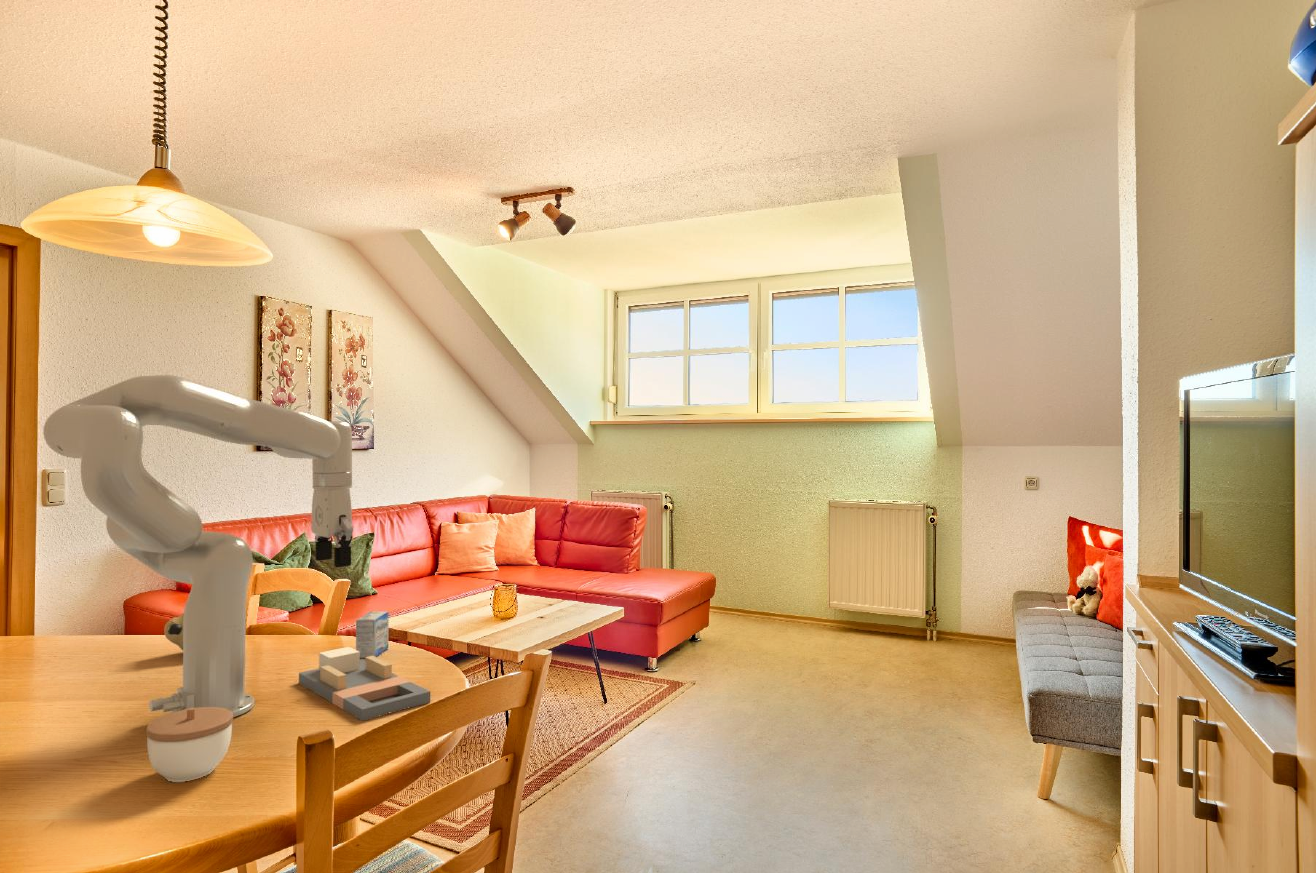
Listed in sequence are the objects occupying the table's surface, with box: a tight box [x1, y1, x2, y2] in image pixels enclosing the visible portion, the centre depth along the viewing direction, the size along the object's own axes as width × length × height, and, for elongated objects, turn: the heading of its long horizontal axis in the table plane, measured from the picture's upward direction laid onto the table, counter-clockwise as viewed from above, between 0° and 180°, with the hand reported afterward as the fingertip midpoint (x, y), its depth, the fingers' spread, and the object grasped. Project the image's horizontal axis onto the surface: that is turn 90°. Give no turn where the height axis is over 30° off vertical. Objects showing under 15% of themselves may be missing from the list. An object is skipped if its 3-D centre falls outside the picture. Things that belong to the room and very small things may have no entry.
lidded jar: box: [145, 707, 234, 783], centre depth 109 cm, size 11×11×9 cm
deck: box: [298, 656, 431, 722], centre depth 143 cm, size 13×28×4 cm, turn 47°
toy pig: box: [163, 612, 184, 651], centre depth 166 cm, size 10×12×11 cm
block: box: [318, 646, 361, 673], centre depth 150 cm, size 6×5×4 cm
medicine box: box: [355, 611, 390, 659], centre depth 168 cm, size 8×4×9 cm, turn 179°
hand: (333, 562), depth 155 cm, fingers open, 9 cm apart
